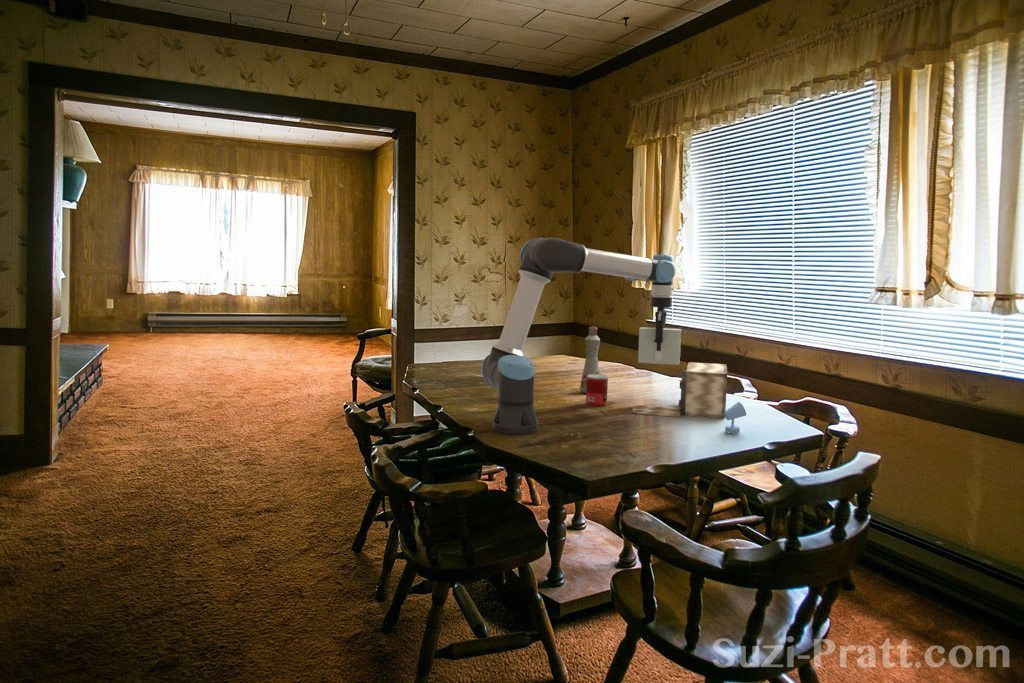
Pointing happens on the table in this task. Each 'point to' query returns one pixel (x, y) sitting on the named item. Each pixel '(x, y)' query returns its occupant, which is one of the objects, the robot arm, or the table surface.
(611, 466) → the table surface
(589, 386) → the canned food
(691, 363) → the cabinet
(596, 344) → the bottle
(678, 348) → the door
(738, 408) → the spotlight
